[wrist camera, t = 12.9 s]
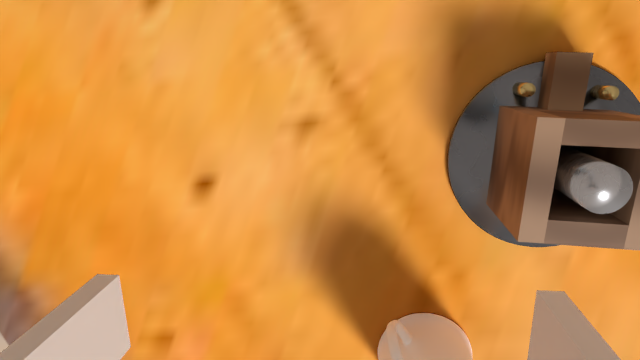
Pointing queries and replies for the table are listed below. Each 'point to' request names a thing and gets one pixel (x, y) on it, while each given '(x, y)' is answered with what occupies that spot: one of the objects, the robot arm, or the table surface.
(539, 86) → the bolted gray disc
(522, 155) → the collar
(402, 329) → the mug
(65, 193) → the table surface
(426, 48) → the table surface
